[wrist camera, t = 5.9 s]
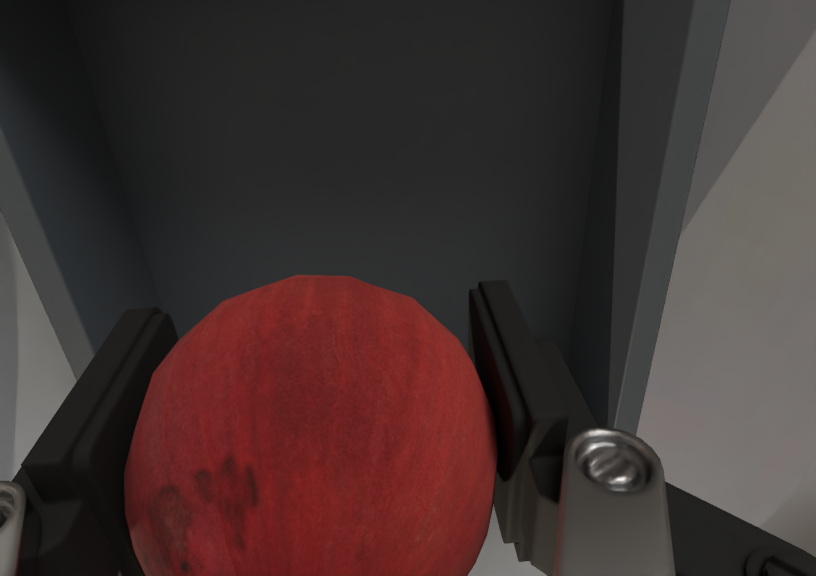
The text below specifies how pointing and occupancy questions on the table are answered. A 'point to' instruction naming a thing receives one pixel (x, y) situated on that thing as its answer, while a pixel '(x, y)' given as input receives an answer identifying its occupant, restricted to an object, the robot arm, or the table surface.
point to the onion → (313, 441)
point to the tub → (360, 160)
